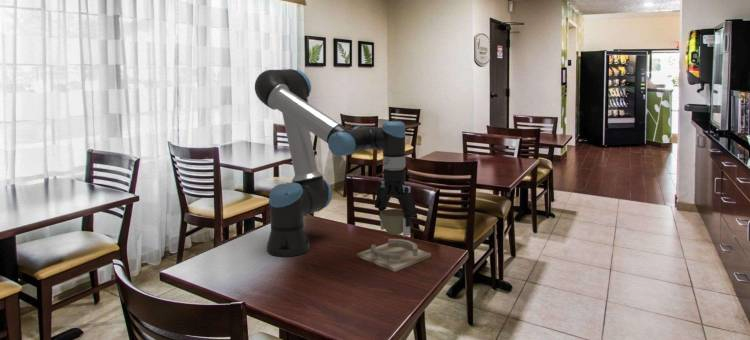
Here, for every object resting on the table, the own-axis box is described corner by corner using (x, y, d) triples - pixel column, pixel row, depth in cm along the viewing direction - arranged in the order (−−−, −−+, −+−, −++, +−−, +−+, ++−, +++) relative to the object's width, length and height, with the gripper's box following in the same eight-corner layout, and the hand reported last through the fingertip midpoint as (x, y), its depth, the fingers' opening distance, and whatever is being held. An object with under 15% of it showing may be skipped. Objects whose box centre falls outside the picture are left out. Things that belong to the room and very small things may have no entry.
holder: (357, 256, 172) (357, 246, 171) (393, 243, 184) (393, 234, 183) (394, 271, 159) (394, 260, 158) (431, 256, 171) (431, 246, 170)
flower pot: (407, 238, 163) (407, 217, 162) (377, 236, 165) (377, 216, 164) (411, 228, 173) (411, 209, 172) (383, 227, 175) (382, 208, 174)
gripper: (363, 165, 170) (364, 227, 175) (411, 174, 154) (412, 242, 159) (378, 162, 175) (380, 222, 180) (427, 170, 159) (427, 236, 164)
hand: (395, 231), depth 169 cm, fingers closed on flower pot, 10 cm apart
